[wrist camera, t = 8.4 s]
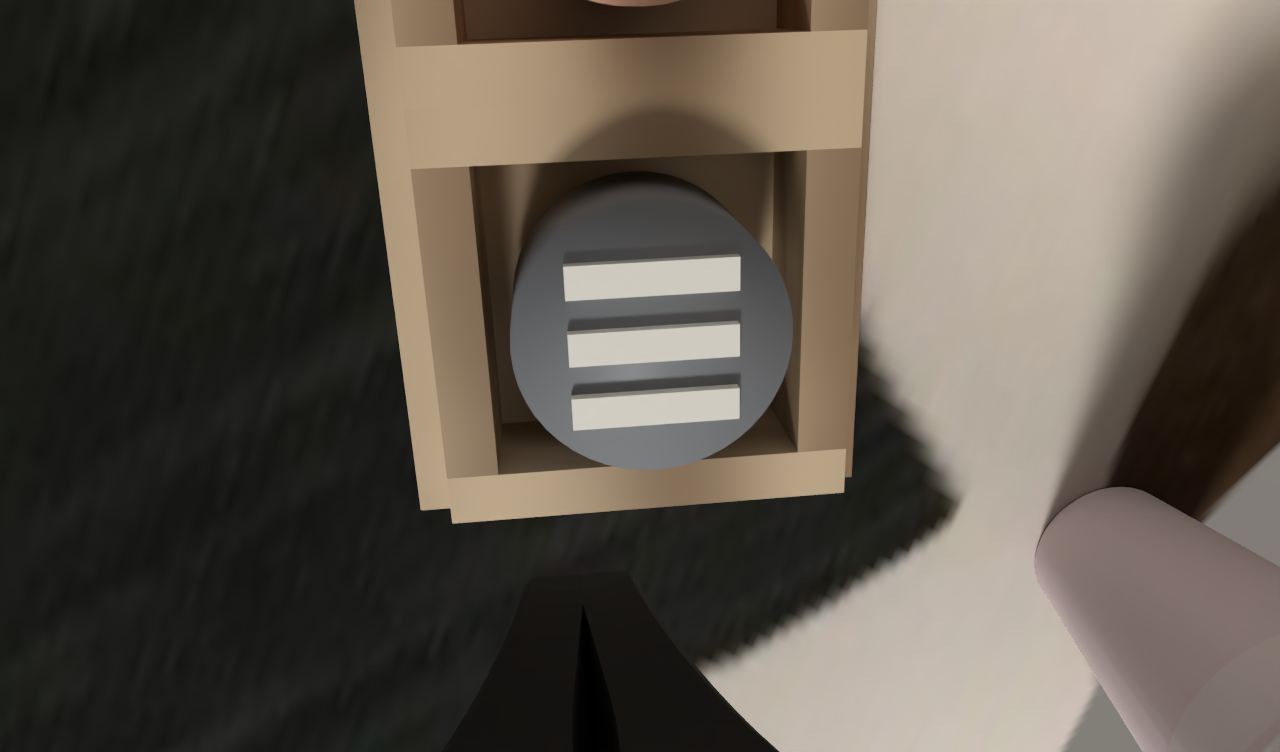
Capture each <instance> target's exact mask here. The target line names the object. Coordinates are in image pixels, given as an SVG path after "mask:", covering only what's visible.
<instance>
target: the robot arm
mask: <svg viewBox="0 0 1280 752" xmlns="http://www.w3.org/2000/svg"><path fill="white" fill-rule="evenodd" d="M442 752H779V751H778V750H777V749H776V748H775V747H774V746H772V745H771V744H770V743H769V742H768V741H767V740H766V739H765V738H764V737H762V736H761V735H760V734H759V733H758V732H757V731H756V730H755V729H754V728H753V727H752V726H751V725H750V724H749V723H748V722H747V721H746V720H745V719H744V718H743V717H742V716H741V715H740V714H739V713H738V712H737V711H736V710H735V709H734V708H733V707H732V706H731V705H730V704H729V703H728V702H727V701H726V700H725V698H724V697H723V696H722V695H721V694H720V693H719V692H718V691H717V690H716V689H715V688H714V687H713V685H712V684H711V683H710V682H709V681H708V680H707V678H706V677H705V676H704V675H703V674H702V673H701V671H700V670H699V669H698V668H697V667H696V665H695V664H694V663H693V662H692V660H691V659H690V658H689V656H688V655H687V654H686V653H685V651H684V650H683V649H682V648H681V646H680V645H679V644H678V643H677V641H676V640H675V639H674V637H673V636H672V634H671V633H670V632H669V630H668V629H667V628H666V626H665V625H664V623H663V622H662V620H661V619H660V617H659V616H658V614H657V613H656V611H655V610H654V608H653V607H652V605H651V603H650V602H649V600H648V598H647V597H646V595H645V593H644V591H643V589H642V588H641V586H640V584H639V582H638V579H637V577H636V576H634V575H633V574H632V573H631V572H630V571H628V570H623V571H613V572H603V573H593V574H582V575H572V576H562V577H552V578H542V579H532V580H531V581H530V582H529V583H528V584H527V585H526V586H525V587H524V589H523V593H522V597H521V601H520V604H519V607H518V610H517V613H516V615H515V618H514V620H513V623H512V625H511V628H510V630H509V632H508V635H507V637H506V639H505V641H504V644H503V646H502V648H501V650H500V652H499V654H498V656H497V658H496V660H495V662H494V664H493V666H492V668H491V670H490V672H489V674H488V676H487V678H486V680H485V682H484V684H483V685H482V687H481V689H480V691H479V693H478V694H477V696H476V698H475V699H474V701H473V703H472V704H471V706H470V708H469V709H468V711H467V713H466V714H465V716H464V718H463V719H462V721H461V723H460V724H459V726H458V728H457V729H456V731H455V733H454V734H453V736H452V737H451V739H450V740H449V742H448V743H447V745H446V746H445V748H444V749H443V751H442Z"/></svg>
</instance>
